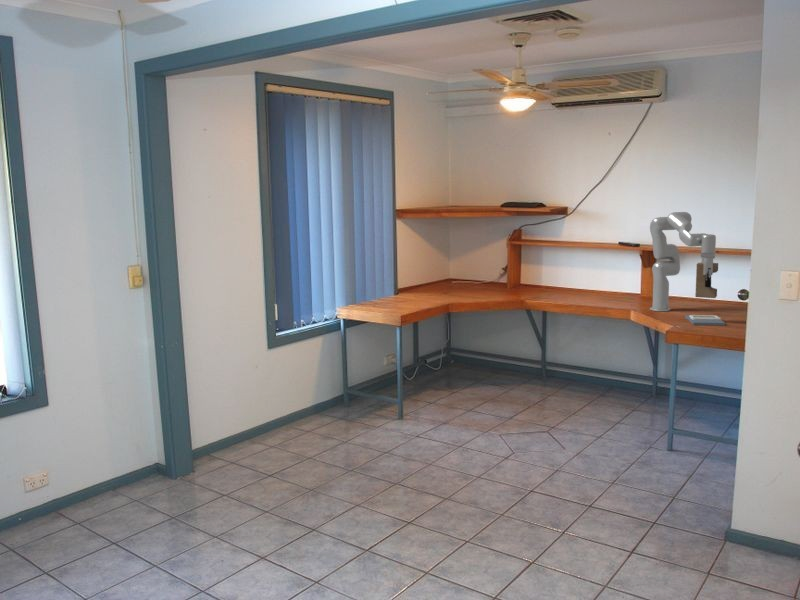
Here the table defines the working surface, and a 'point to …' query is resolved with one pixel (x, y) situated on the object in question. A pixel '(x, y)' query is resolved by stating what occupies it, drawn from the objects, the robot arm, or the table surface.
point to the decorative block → (700, 283)
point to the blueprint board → (704, 320)
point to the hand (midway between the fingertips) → (706, 285)
